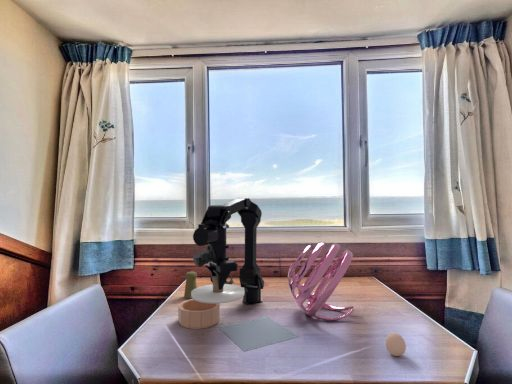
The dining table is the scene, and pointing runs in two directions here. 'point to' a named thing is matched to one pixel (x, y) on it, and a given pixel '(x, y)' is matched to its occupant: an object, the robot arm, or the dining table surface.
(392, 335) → the egg
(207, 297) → the ceramic lid
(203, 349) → the dining table surface
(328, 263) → the spiral basket
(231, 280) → the pottery mug
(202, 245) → the robot arm
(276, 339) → the rubber mat
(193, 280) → the green tapered peg
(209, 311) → the terracotta bowl
